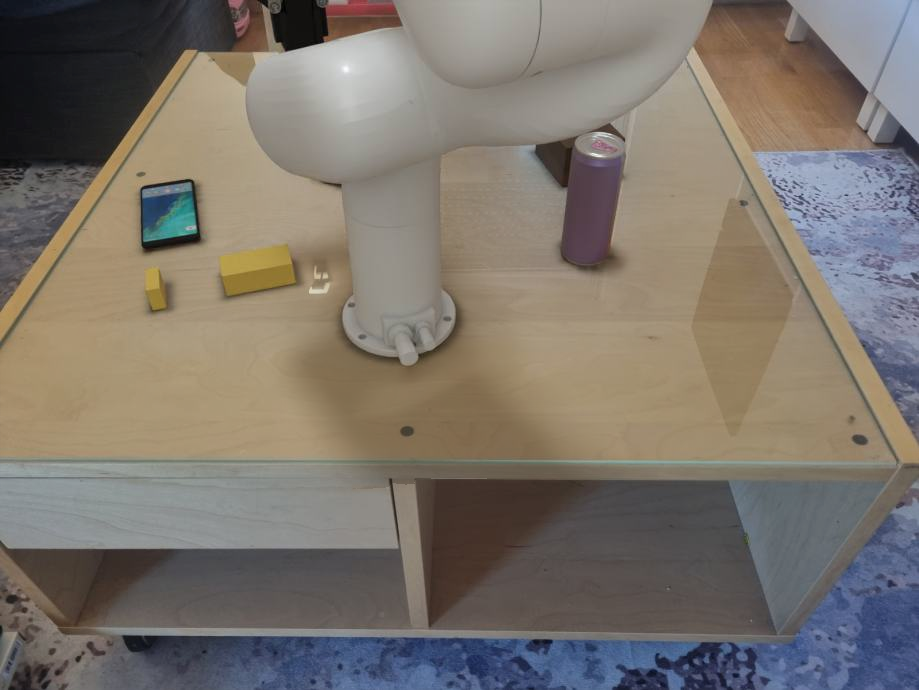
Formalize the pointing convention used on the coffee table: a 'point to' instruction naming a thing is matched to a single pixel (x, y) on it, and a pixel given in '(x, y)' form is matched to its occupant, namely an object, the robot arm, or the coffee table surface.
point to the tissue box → (564, 154)
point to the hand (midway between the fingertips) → (302, 44)
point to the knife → (300, 22)
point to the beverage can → (592, 197)
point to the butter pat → (155, 288)
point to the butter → (257, 269)
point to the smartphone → (169, 214)
